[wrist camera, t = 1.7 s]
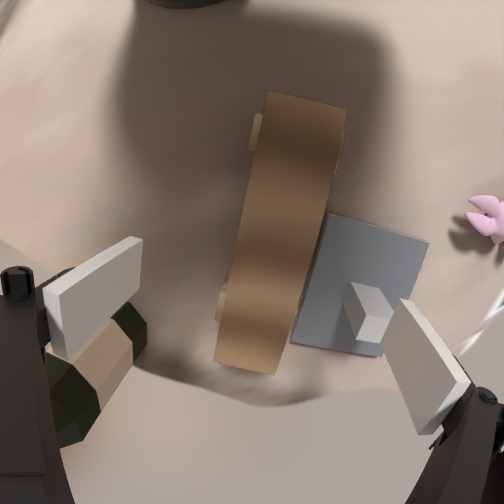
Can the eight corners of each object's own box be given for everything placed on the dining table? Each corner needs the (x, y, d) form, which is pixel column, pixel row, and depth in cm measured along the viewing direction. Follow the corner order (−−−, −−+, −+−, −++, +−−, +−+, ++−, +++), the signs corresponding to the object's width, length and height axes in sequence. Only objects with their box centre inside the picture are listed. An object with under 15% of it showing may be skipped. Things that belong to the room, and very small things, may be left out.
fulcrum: (327, 212, 28) (343, 233, 20) (424, 240, 27) (461, 266, 20) (290, 335, 32) (291, 382, 25) (378, 350, 32) (396, 395, 24)
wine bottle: (158, 322, 33) (16, 546, 5) (136, 362, 36) (24, 545, 8) (103, 282, 33) (-79, 456, 4) (87, 326, 35) (-50, 481, 7)
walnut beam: (271, 103, 21) (268, 90, 16) (335, 118, 20) (348, 110, 16) (223, 331, 27) (213, 361, 23) (276, 343, 27) (274, 375, 23)
